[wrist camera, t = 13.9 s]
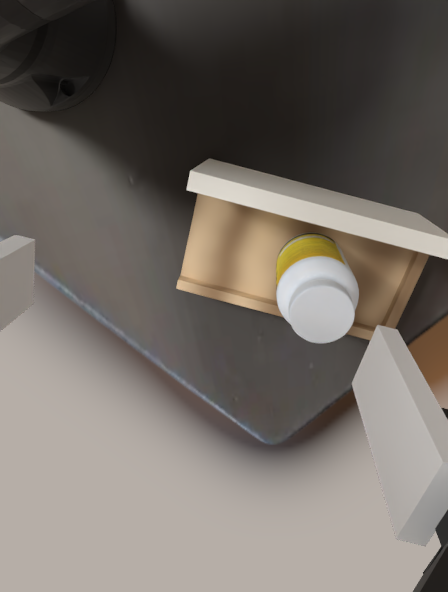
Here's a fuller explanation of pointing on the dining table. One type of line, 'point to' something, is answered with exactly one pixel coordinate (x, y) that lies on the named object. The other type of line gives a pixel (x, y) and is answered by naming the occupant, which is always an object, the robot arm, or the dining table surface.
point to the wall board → (318, 206)
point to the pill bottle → (316, 288)
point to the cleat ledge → (263, 256)
